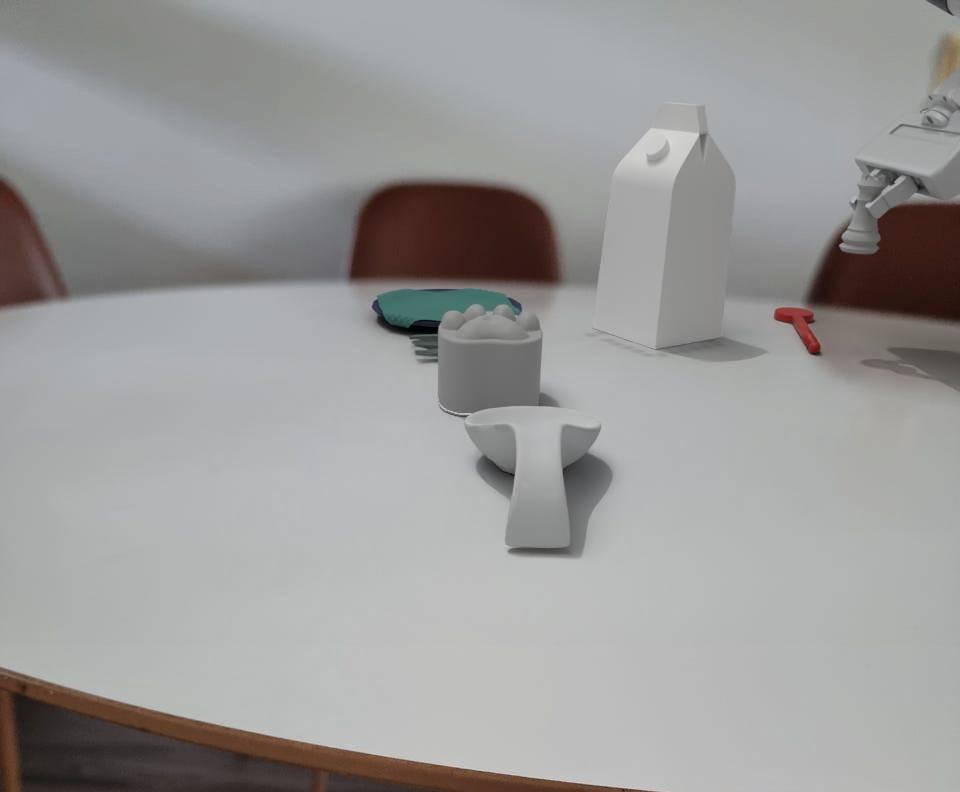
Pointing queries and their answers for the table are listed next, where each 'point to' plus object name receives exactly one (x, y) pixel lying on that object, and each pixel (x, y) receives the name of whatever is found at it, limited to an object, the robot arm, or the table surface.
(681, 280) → the milk
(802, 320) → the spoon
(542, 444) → the spoon rest
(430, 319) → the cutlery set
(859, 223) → the rook chess piece
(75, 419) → the table surface
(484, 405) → the lumpy-topped squat cylinder
